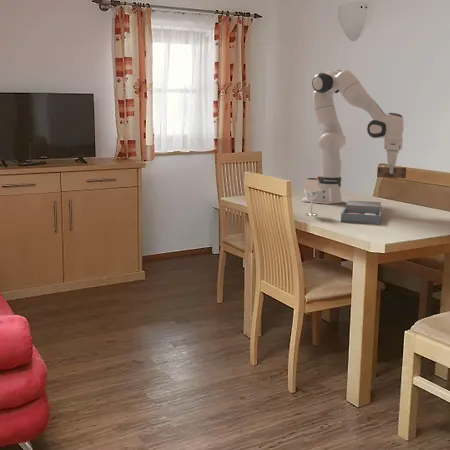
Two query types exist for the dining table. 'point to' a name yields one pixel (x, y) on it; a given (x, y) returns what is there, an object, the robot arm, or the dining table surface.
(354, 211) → the box
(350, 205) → the grey flat block
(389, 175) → the scraper bar
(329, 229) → the dining table surface
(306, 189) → the wineglass
